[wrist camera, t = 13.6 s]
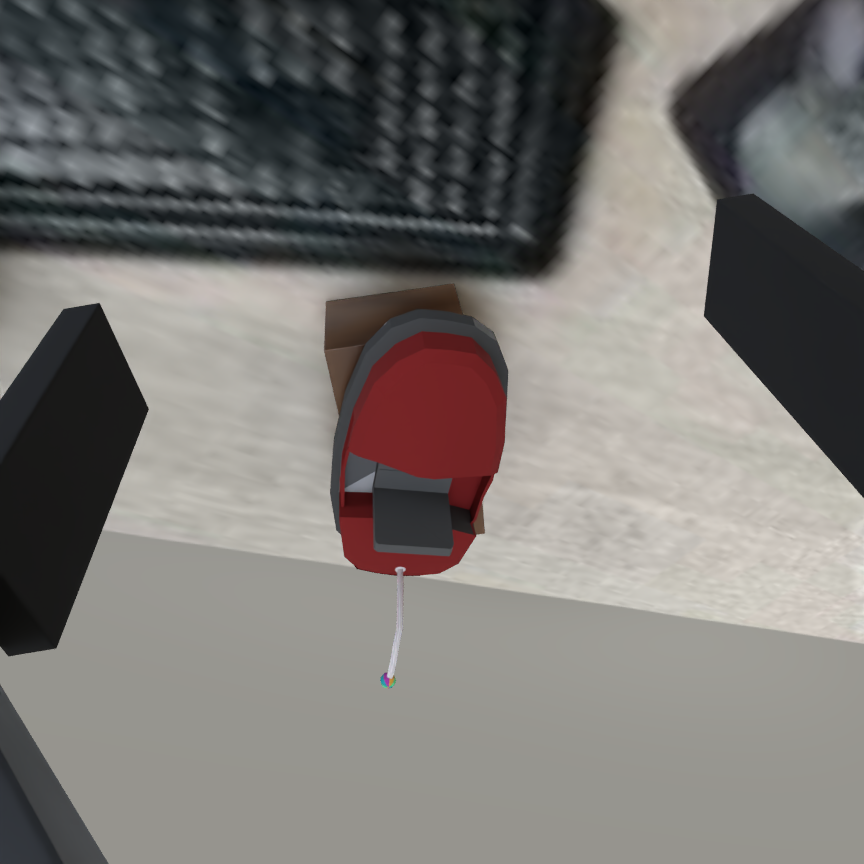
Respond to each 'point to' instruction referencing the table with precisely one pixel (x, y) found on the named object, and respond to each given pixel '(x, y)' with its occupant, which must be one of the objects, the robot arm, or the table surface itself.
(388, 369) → the bumper car
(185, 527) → the table surface
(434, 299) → the walnut block
